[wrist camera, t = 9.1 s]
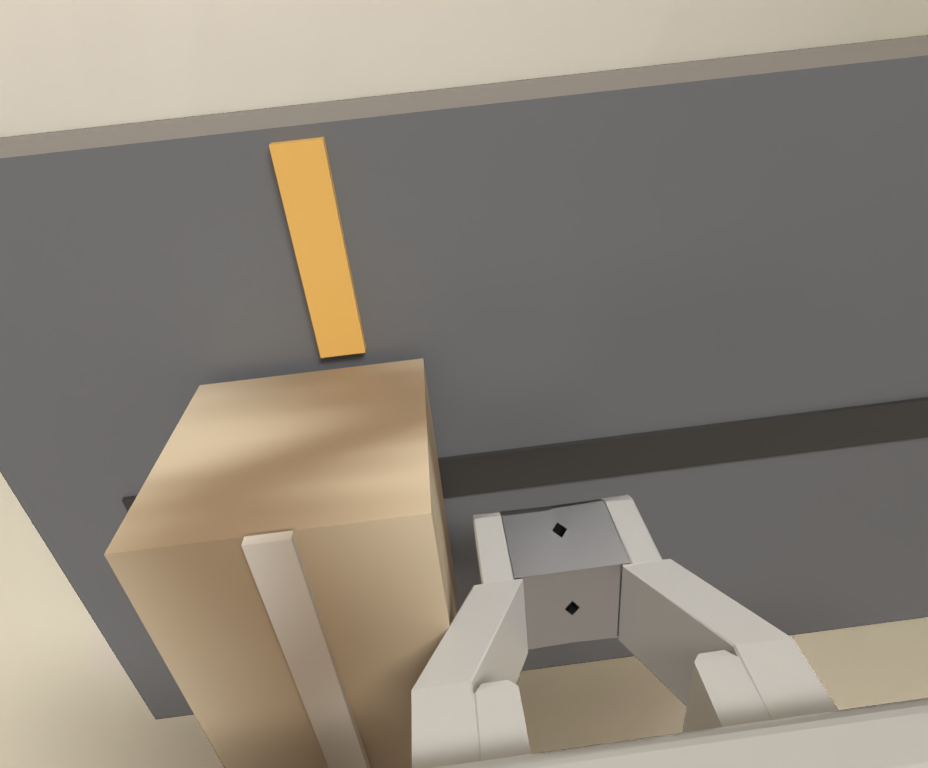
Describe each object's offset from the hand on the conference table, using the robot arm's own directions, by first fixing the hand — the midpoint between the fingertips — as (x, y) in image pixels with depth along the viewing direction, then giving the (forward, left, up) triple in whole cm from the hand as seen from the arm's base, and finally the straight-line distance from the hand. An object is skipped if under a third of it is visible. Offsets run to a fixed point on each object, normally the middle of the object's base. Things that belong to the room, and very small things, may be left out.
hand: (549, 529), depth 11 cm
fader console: (-3, 0, -5) cm, 5 cm away
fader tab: (+4, 0, -1) cm, 4 cm away
